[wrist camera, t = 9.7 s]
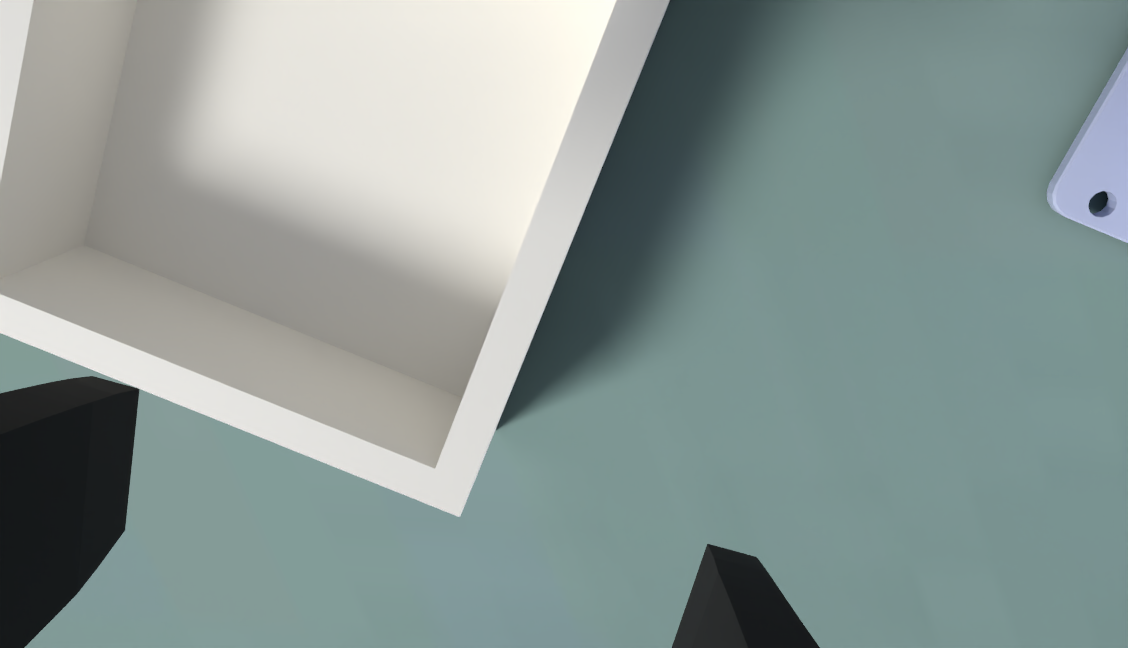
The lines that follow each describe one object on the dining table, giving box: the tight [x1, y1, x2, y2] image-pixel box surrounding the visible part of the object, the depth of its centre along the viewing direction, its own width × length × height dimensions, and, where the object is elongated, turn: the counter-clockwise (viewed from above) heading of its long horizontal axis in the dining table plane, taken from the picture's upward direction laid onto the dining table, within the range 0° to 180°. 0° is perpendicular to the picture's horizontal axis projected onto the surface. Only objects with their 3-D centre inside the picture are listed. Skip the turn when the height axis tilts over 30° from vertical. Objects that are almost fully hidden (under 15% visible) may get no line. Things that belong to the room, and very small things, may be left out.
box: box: [0, 0, 670, 517], centre depth 19 cm, size 11×11×4 cm
